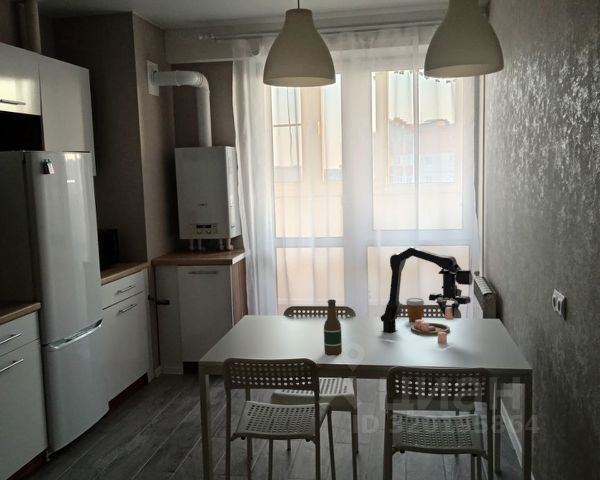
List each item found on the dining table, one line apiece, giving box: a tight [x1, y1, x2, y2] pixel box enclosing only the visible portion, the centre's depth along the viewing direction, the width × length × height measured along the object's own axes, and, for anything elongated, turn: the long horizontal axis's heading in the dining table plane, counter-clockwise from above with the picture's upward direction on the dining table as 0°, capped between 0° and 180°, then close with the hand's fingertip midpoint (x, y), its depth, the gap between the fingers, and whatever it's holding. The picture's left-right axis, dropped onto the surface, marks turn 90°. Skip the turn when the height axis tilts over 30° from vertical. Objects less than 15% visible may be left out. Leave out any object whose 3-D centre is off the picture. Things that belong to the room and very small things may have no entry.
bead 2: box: [444, 306, 455, 321], centre depth 282 cm, size 4×4×5 cm
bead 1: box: [437, 332, 448, 345], centre depth 275 cm, size 4×4×5 cm
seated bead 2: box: [421, 321, 430, 331], centre depth 293 cm, size 4×4×5 cm
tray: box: [410, 322, 451, 337], centre depth 297 cm, size 18×18×2 cm
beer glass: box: [405, 297, 425, 323], centre depth 317 cm, size 10×10×12 cm
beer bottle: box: [323, 298, 343, 356], centre depth 266 cm, size 8×8×24 cm
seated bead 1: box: [414, 319, 425, 331], centre depth 298 cm, size 4×4×5 cm
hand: (449, 316), depth 282 cm, fingers closed on bead 2, 4 cm apart
